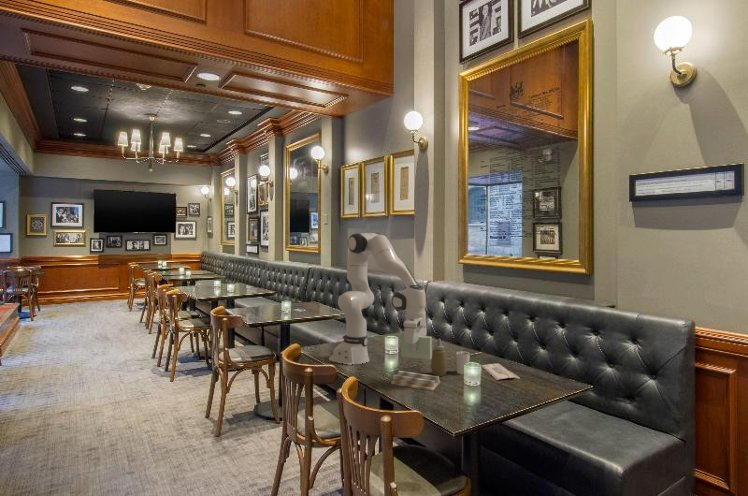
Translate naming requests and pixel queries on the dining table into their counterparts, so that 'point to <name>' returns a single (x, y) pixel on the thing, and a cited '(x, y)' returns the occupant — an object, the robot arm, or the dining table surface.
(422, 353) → the door panel
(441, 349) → the squeeze bottle
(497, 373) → the newspaper
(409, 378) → the door track
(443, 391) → the dining table surface
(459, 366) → the grey cylinder
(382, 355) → the dining table surface
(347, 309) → the robot arm
